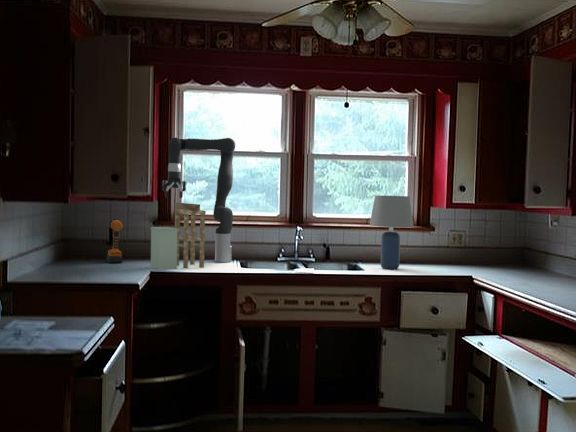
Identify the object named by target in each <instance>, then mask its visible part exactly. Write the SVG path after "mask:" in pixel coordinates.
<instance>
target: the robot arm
mask: <svg viewBox="0 0 576 432" xmlns="http://www.w3.org/2000/svg"><path fill="white" fill-rule="evenodd" d="M168 149H169V150H168V152H169V153H168V154H169V155H168V156H169V157H168V166H167V180H162V183H161V190H162V191H163V192H164V196H165V198H166V199H168V198H169V190H170V189H177V190H178V191H179V195H178V196H179V199H182V198H183V195H184V193H183V192H186V190H187V188H186V187H187V184H186V182H187V181H185V180H184V181H183V180H181V179H182V178H181V177H182V156H181V151H210V150H211V151H212V150H213V151H220V163H219V168H218V172H217V180H216V181H217V182H216V183H217V184H216V185H217V186H216V192H215V202H214V207H213V213H212V214H213V218H214V221H216V222H218V223H219V226H218V227H217V228H215V235H214V236H215V240H214V241H215V242H214V243H215V245H214V246H215V247H214V261H215V262H217V263H229V262H232V256H233V255H232V251H233V250H232V248H233V247H232V245H231V234H232V230H233V220H234V218H233V217H234V214H233V210H232V209H231V208H230V207H226V203H227V199H228V198H227V197H228V196H229V194H230V192H231V190H232V187H233V179H234V168H233V162H234V161H233V159H234V153H235V149H236V142H235V140H234V139H233V138H230V137H225V138H216V139H215V138H214V139H212V138H211V139H208V138H206V139H203V138H178V137H171V139H170V140H169V142H168ZM181 185H182V186H181Z"/></svg>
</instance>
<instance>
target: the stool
mask: <svg viewBox="0 0 576 432" xmlns="http://www.w3.org/2000/svg"><path fill="white" fill-rule="evenodd" d="M206 212H207V211H206V210H204V209H203V210H202V209H200V211H191V210H183V209H176V208H175V209H174V216H175V217H174V228H177V229H178V231H177V266H180V247H181V248H183V254H182V256H183V258H182V260H183V262H182V268H183V269H184V268H186V269H188V268H189V265H192V266H193V265H196V264H195V263H196V262H195V259H196V253H195V252H196V247H198V248H199V258H198V259H199V260H198V261H199V262H198V263H199V268H200V269H203V268H205V237H206V235H205V234H206V231H205V230H206ZM181 214H182V215H183V235H180V226H181V224H180V223H181V222H180V219H181ZM197 215H200V217H199V219H200V220H199V237H196V217H197ZM189 219H190V220H189ZM189 225H190V226H189ZM189 228H190V229H189ZM189 230H190V235H189ZM180 239H183V244H182V243H180ZM196 241H199V243H196ZM189 242H190V244H189ZM189 245H190V248H189ZM189 250H190V253H189Z"/></svg>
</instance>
